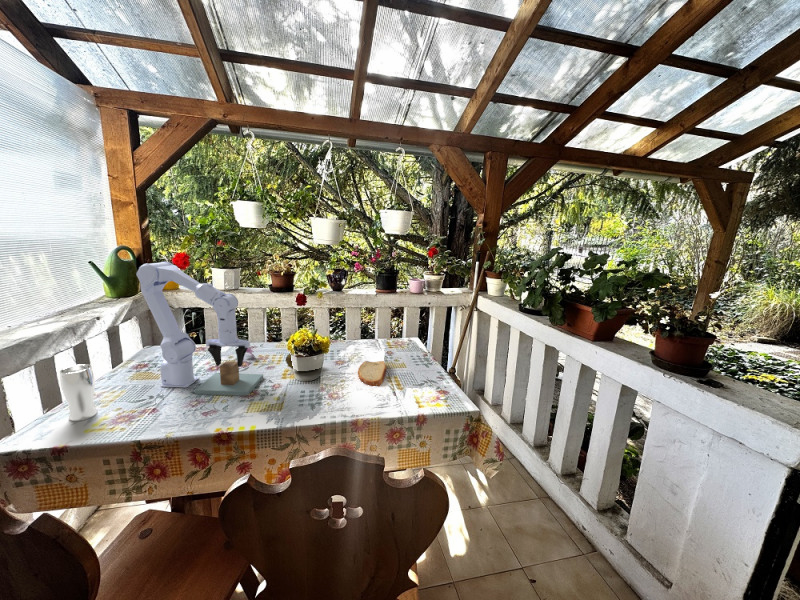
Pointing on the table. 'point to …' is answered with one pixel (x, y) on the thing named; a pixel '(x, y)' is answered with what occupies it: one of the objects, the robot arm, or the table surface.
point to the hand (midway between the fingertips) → (229, 365)
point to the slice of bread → (372, 373)
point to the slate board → (239, 388)
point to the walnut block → (229, 373)
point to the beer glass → (79, 391)
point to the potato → (289, 361)
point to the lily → (249, 351)
